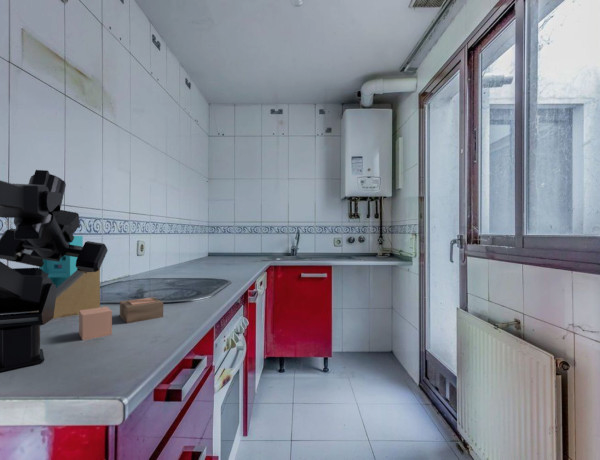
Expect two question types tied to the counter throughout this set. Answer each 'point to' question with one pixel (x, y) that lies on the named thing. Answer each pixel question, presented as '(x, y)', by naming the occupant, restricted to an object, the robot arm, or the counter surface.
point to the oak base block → (141, 309)
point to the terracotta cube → (95, 323)
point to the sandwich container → (77, 294)
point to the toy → (62, 265)
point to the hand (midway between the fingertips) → (64, 268)
